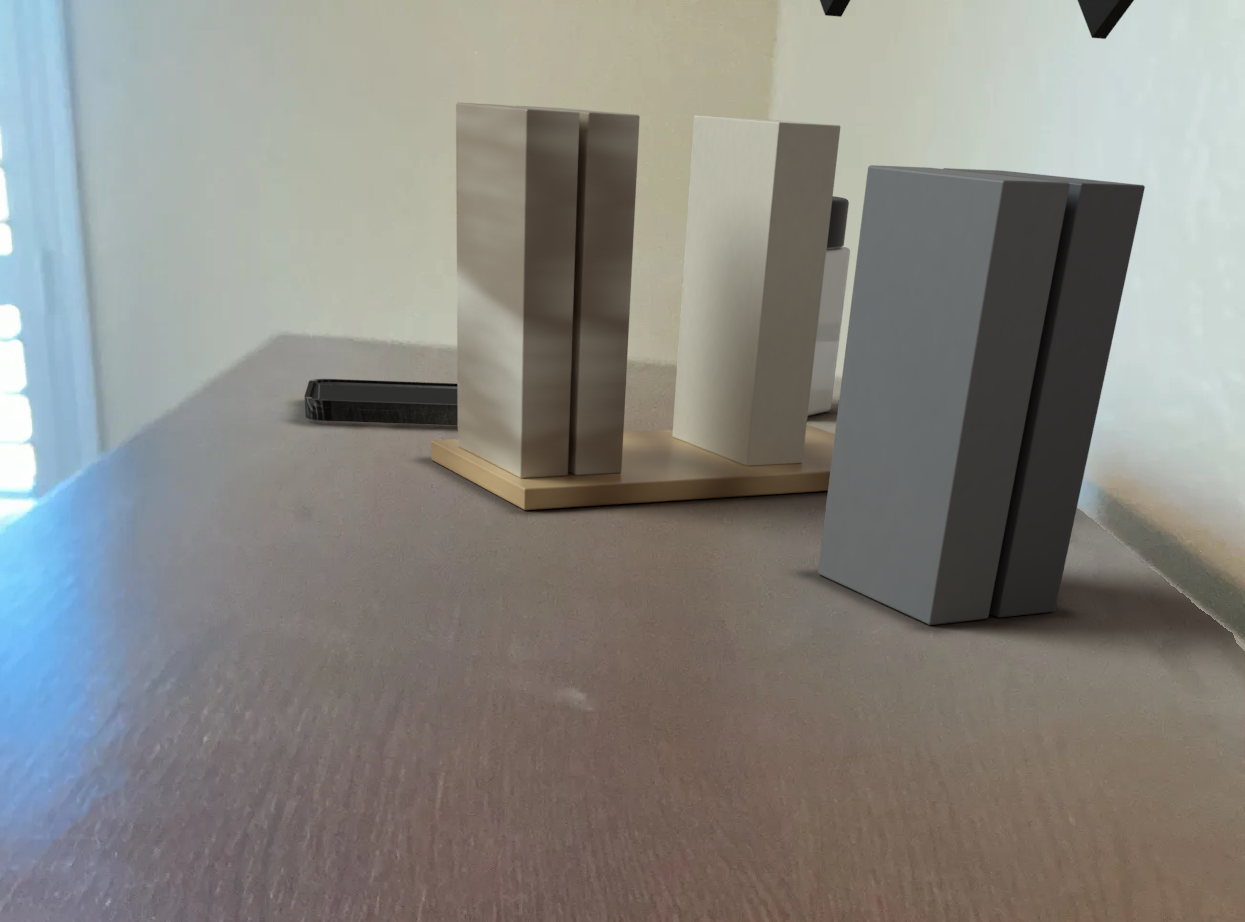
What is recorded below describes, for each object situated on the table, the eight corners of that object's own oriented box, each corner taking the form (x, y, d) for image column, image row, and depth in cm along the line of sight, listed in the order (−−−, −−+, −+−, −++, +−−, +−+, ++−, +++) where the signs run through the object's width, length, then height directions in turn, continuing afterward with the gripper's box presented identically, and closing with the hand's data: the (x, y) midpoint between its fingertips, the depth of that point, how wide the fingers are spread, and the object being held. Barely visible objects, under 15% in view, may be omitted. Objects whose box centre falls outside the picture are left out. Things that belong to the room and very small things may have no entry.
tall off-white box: (725, 435, 87) (752, 119, 78) (802, 463, 81) (841, 125, 72) (671, 437, 85) (693, 115, 77) (746, 466, 79) (779, 122, 71)
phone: (309, 378, 94) (552, 386, 96) (311, 398, 95) (551, 406, 96) (303, 400, 88) (563, 408, 89) (304, 421, 88) (562, 429, 90)
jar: (829, 402, 104) (853, 196, 97) (832, 422, 97) (859, 203, 91) (698, 392, 105) (714, 187, 98) (692, 412, 98) (708, 194, 91)
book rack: (803, 442, 91) (840, 123, 82) (925, 485, 83) (981, 133, 74) (430, 460, 82) (425, 100, 73) (524, 511, 73) (531, 110, 64)
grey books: (936, 563, 69) (1001, 171, 60) (1055, 612, 63) (1146, 185, 54) (816, 574, 66) (867, 165, 58) (929, 626, 60) (1003, 180, 52)
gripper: (1095, -686, 37) (726, 61, 57) (1704, -482, 47) (1215, 94, 67) (996, -927, 38) (666, -110, 57) (1614, -677, 48) (1157, -53, 67)
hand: (960, 1), depth 62 cm, fingers open, 13 cm apart
